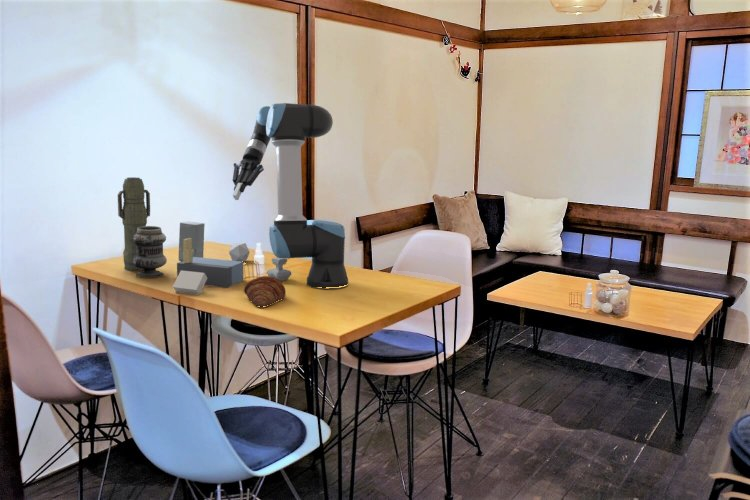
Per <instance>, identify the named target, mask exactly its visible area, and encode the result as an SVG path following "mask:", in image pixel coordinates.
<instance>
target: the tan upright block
mask: <svg viewBox="0 0 750 500" xmlns="http://www.w3.org/2000/svg"><path fill="white" fill-rule="evenodd" d="M193 252H194V250H193V248H192V238H187V239H184V240H183V263H191V262H193Z"/></svg>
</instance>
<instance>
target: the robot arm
mask: <svg viewBox="0 0 750 500" xmlns="http://www.w3.org/2000/svg"><path fill="white" fill-rule="evenodd" d="M333 121H334V120H333V116H332V115H331V113H330V111H328V109H326V108H324V107H322V106H320V105H316V104H304V103H303V104H301V103H286V102H283V103H273V104H272V105H271V106H269V105H266V106H262V107H261V108H260V109H258V113H257V115H256V120H255V125H254V128H253V132H252V136H251V137H250V139H249V142H248V144H247V146H246V148H245V150H244V153H243V155H242V159H241V160H240V161H239V163H236V162H235V163H233V172H232V173H233V175H232V182H233V184H234V187H233V193H232V197H233V199H234V200H235V201H239V199H240V197H241V194H243V193H244V192H245V189H246V188H247V187H248V186H249V187H251V186H252V185H253V183H254V182H256V179H257V178H258V177H259V175H260V174H261V173H262V172H263V171H265V168H264V166H263V165H262V164H261V163H262V161H263V159H264V155H265V153H266V151H267V147H268V145H269V143H270V142H271V144H272V145H273V146H274V147H275V154H276V156H275V157H276V183H277V185H276V187H277V216H276V217H275V219H274V220H273V224H272V225H270V226H269V229H268V231H269V232H268V236H269V237H268V238H269V243H270V246H271V250H272V254H273V255H274V256H275V258H286V259H287V260H289V259H300V258H311V265H310V268H309V272H308V275H307V276H306V286H308V285H309V286H308V287H310V286H311V287H310V288H313V287H322V288H326V287H339V286H344V285H347V284H348V285H349V277H348V274H347V269H346V266H345V239H346V236H345V235H346V234H345V227H344V225H343V224H342V223H340V222H339V223H338V222H334V221H330V220H323V219H322V220H320V219H314V220H313V221H312V222H311V223H312V224H308V219H307V218H306V217H305V216H304V215H303V183H302V180H303V179H302V153H301V151H302V150H301V148H302V146H303V145H304V144H305V143H306V139H309V138H310V139H315V138H316V139H317V138H320V137H322V136H325V135H326V134H328V133H329V132H330V131H331V129H332V127H333V123H334V122H333Z"/></svg>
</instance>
